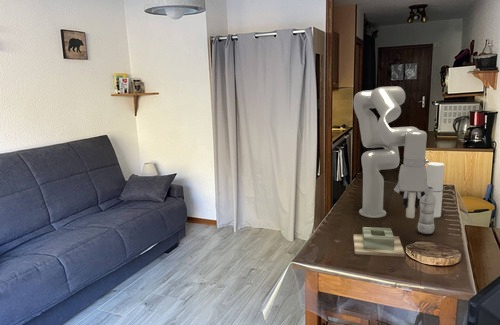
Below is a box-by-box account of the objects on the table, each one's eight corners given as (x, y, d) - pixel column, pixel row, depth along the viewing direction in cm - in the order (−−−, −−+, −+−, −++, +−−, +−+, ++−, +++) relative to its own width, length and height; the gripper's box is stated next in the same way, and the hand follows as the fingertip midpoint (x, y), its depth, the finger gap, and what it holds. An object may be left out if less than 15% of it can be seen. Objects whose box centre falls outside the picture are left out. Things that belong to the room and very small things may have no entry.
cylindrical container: (425, 217, 178) (429, 165, 173) (422, 211, 185) (425, 162, 180) (442, 217, 177) (446, 165, 171) (438, 212, 184) (442, 162, 178)
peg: (405, 214, 153) (406, 186, 150) (413, 215, 153) (415, 187, 150) (406, 218, 150) (408, 189, 147) (415, 218, 150) (417, 189, 146)
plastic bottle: (413, 231, 163) (416, 187, 159) (425, 228, 166) (428, 184, 161) (425, 237, 157) (428, 191, 153) (437, 234, 160) (440, 188, 155)
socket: (353, 236, 161) (353, 224, 160) (398, 239, 157) (399, 226, 155) (354, 254, 146) (355, 240, 144) (404, 256, 142) (405, 242, 140)
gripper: (434, 160, 147) (431, 204, 152) (390, 159, 151) (387, 202, 156) (439, 165, 140) (435, 211, 145) (392, 164, 144) (390, 209, 149)
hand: (410, 206), depth 150 cm, fingers closed on peg, 3 cm apart
